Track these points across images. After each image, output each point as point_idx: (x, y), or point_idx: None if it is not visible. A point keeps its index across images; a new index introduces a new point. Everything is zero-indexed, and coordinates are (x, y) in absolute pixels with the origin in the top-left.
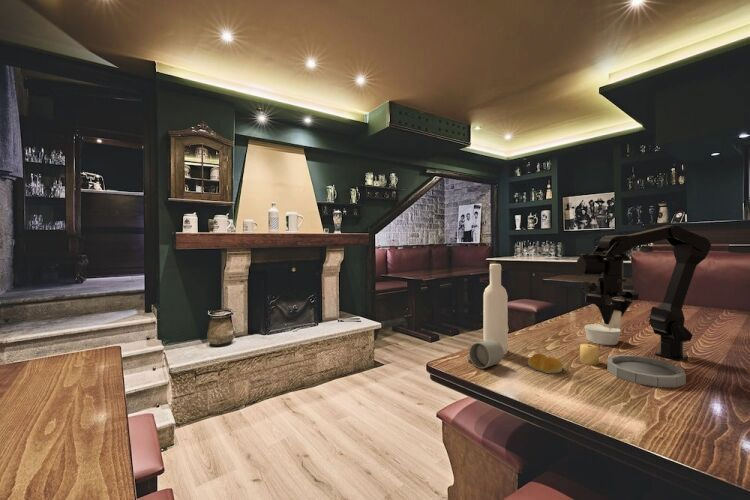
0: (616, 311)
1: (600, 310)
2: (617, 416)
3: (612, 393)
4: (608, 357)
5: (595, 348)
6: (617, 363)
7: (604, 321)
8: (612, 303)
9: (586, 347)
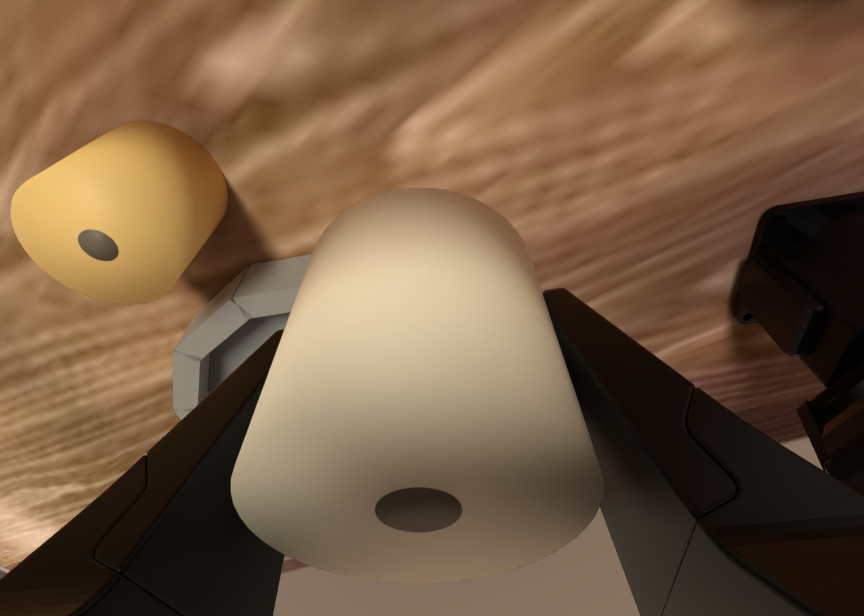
0: (471, 540)
1: (76, 535)
2: (13, 517)
3: (73, 450)
4: (234, 303)
5: (125, 297)
6: (284, 313)
7: (261, 356)
8: (765, 608)
9: (52, 262)
